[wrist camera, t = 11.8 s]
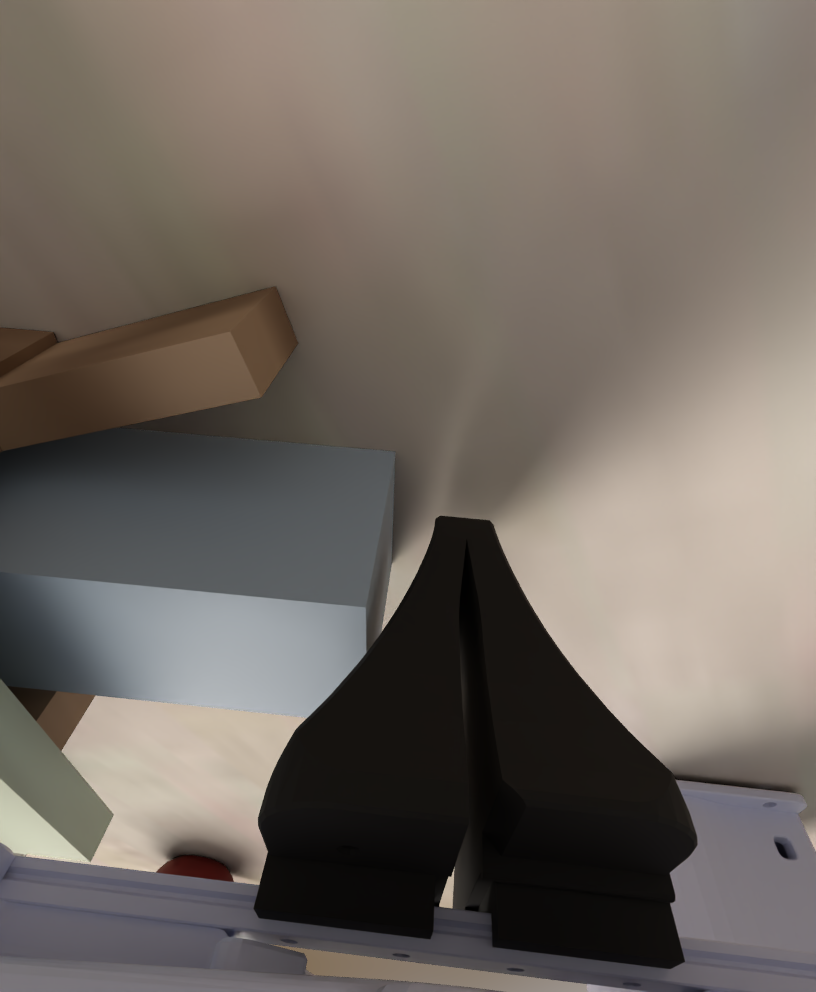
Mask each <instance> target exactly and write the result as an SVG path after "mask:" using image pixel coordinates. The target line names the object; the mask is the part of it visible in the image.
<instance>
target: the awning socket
mask: <svg viewBox="0 0 816 992" xmlns="http://www.w3.org/2000/svg"><path fill="white" fill-rule="evenodd" d="M297 344H298V342H297V339H296V337H295V334H294V332H293V329H292V327H291V324H290V322H289V319H288V317H287V314H286V312H285V309H284V306H283V304H282V301H281V299H280V296H279V294H278V291H277V289H276V286H275V287H271V288H267V289H263V290H260V291H256V292H252V293H248V294H244V295H240V296H236V297H233V298H229V299H225V300H221V301H217V302H213V303H209V304H206V305H202V306H198V307H194V308H190V309H186V310H182V311H179V312H175V313H171V314H167V315H163V316H159V317H155V318H152V319H148V320H144V321H140V322H136V323H132V324H128V325H125V326H121V327H117V328H113V329H109V330H105V331H101V332H98V333H94V334H90V335H86V336H82V337H78V338H74V339H71V340H67V341H63V342H59V343H57V340H56V338H55V335H54V333H53V332H47V331H35V330H23V329H11V328H0V453H1V452H2V451H5V450H10V449H15V448H20V447H25V446H29V445H34V444H39V443H44V442H49V441H54V440H58V439H63V438H68V437H73V436H78V435H83V434H87V433H92V432H97V431H102V430H107V429H111V428H116V427H121V426H126V425H131V424H136V423H140V422H145V421H150V420H155V419H160V418H165V417H169V416H174V415H179V414H184V413H189V412H194V411H198V410H203V409H208V408H213V407H218V406H223V405H227V404H232V403H237V402H242V401H247V400H252V399H256V398H261V397H262V396H263V394H264V393H265V391H266V390H267V388H268V387H269V386H270V384H271V383H272V381H273V380H274V378H275V377H276V375H277V374H278V372H279V371H280V369H281V368H282V366H283V365H284V363H285V362H286V360H287V359H288V357H289V356H290V355H291V353H292V352H293V350H294V349H295V347H296V346H297ZM94 697H95V695H88V694H79V693H69V692H60V691H50V690H41V689H32V688H22V687H13V686H6V685H5V683H4V682H3V681H2V680H1V679H0V842H1V843H2V844H4V845H6V846H7V847H8V848H10V849H11V850H12V852H13V853H18V854H26V855H35V856H43V857H51V858H59V859H68V860H76V861H84V862H91V860H92V858H93V856H94V854H95V852H96V850H97V848H98V846H99V844H100V842H101V840H102V838H103V836H104V834H105V831H106V829H107V827H108V825H109V823H110V821H111V819H112V817H113V815H114V814H113V813H112V812H111V811H110V809H109V808H108V807H107V806H106V805H105V803H104V802H103V801H102V800H101V799H100V797H99V796H98V795H97V794H96V793H95V791H94V790H93V789H92V788H91V787H90V785H89V784H88V783H87V782H86V781H85V779H84V778H83V777H82V776H81V775H80V773H79V772H78V771H77V770H76V769H75V767H74V766H73V765H72V764H71V763H70V761H69V760H68V759H67V758H66V757H65V755H64V754H63V753H62V752H61V750H62V749H63V747H64V746H65V744H66V742H67V741H68V739H69V737H70V736H71V734H72V733H73V731H74V729H75V728H76V726H77V724H78V723H79V721H80V720H81V718H82V716H83V715H84V713H85V711H86V710H87V708H88V707H89V705H90V703H91V702H92V700H93V699H94Z"/></svg>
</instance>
